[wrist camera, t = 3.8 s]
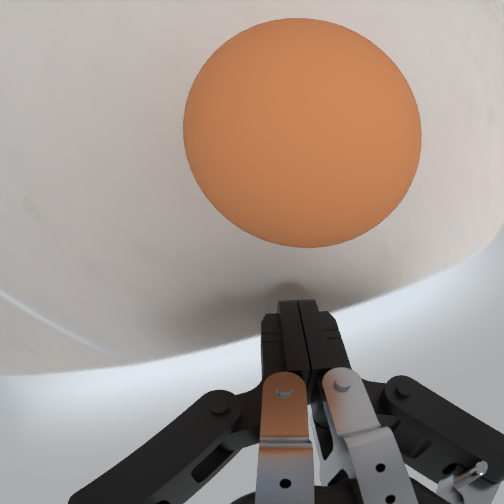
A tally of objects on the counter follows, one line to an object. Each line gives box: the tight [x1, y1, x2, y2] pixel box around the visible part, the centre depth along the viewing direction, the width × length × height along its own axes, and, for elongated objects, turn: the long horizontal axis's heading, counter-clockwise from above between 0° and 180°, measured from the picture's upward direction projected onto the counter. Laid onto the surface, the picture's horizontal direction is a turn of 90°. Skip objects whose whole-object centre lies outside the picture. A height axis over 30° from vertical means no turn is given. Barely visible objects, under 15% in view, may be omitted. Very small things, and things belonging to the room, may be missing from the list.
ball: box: [183, 18, 421, 248], centre depth 7 cm, size 6×6×6 cm
